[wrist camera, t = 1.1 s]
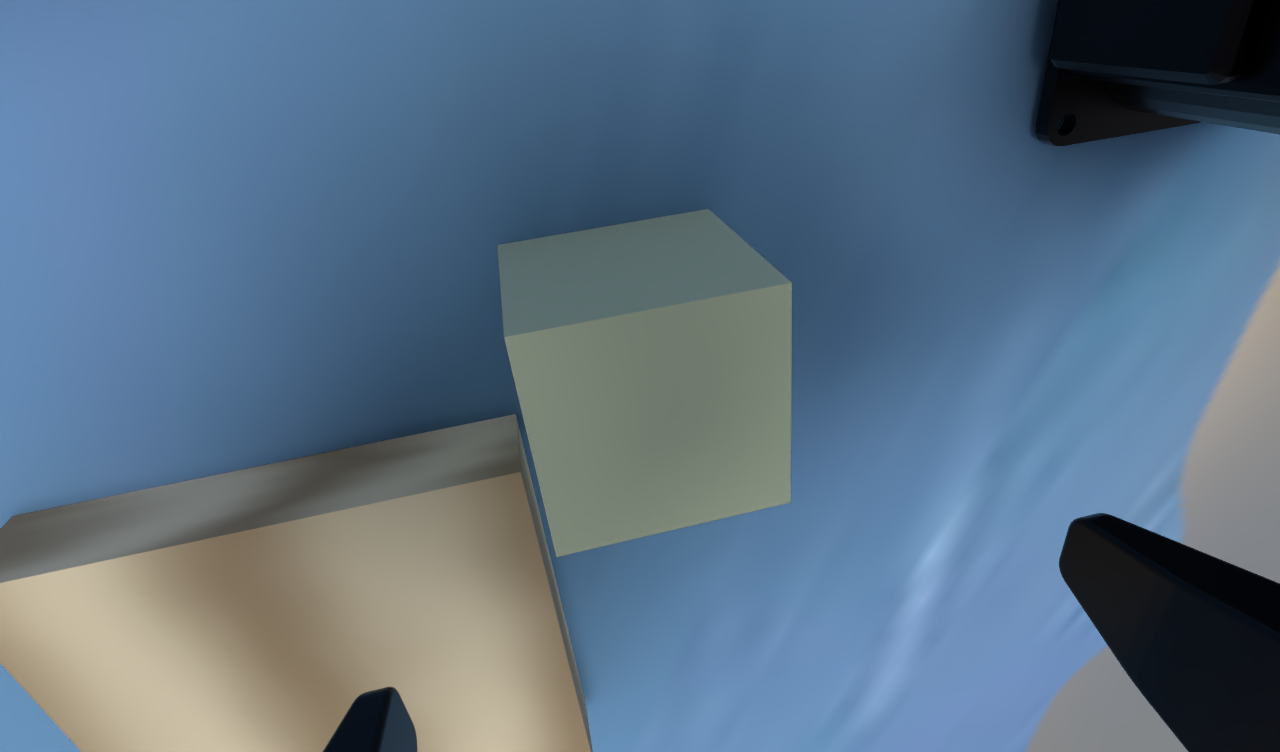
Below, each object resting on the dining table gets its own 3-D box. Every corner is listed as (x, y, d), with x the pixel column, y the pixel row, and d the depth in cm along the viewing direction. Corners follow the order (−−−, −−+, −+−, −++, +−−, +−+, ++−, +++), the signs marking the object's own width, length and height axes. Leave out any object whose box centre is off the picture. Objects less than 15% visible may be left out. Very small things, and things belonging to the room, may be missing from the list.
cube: (707, 207, 16) (791, 282, 12) (718, 386, 18) (790, 502, 14) (497, 244, 15) (503, 336, 11) (537, 423, 18) (556, 557, 13)
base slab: (515, 404, 18) (520, 471, 15) (583, 686, 24) (595, 768, 21) (24, 502, 16) (-62, 596, 14) (229, 776, 22) (196, 877, 20)
